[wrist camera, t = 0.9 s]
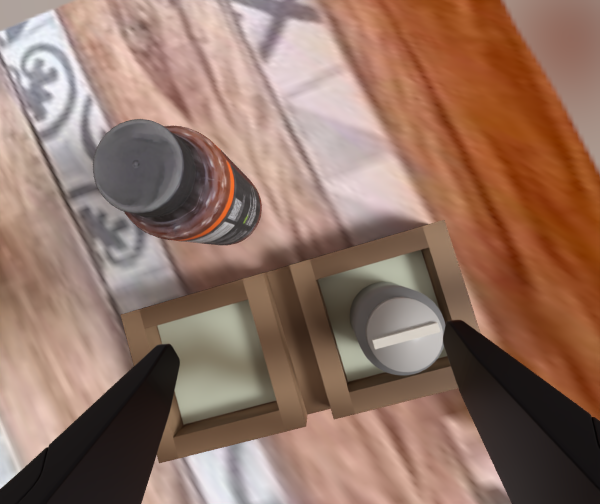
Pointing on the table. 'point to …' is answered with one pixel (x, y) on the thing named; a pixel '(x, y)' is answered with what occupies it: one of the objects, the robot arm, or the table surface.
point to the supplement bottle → (175, 184)
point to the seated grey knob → (397, 328)
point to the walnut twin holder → (293, 342)
